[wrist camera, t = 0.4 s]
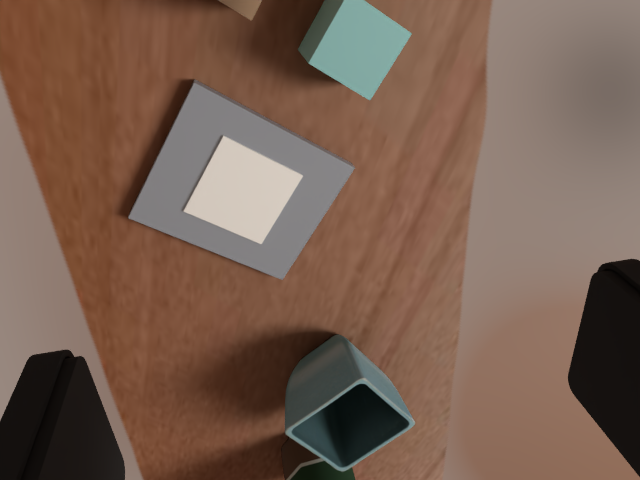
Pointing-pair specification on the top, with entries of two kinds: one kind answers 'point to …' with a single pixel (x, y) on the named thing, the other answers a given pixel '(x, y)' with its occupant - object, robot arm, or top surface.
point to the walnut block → (243, 6)
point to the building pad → (238, 183)
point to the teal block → (353, 44)
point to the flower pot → (342, 405)
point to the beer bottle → (308, 465)
